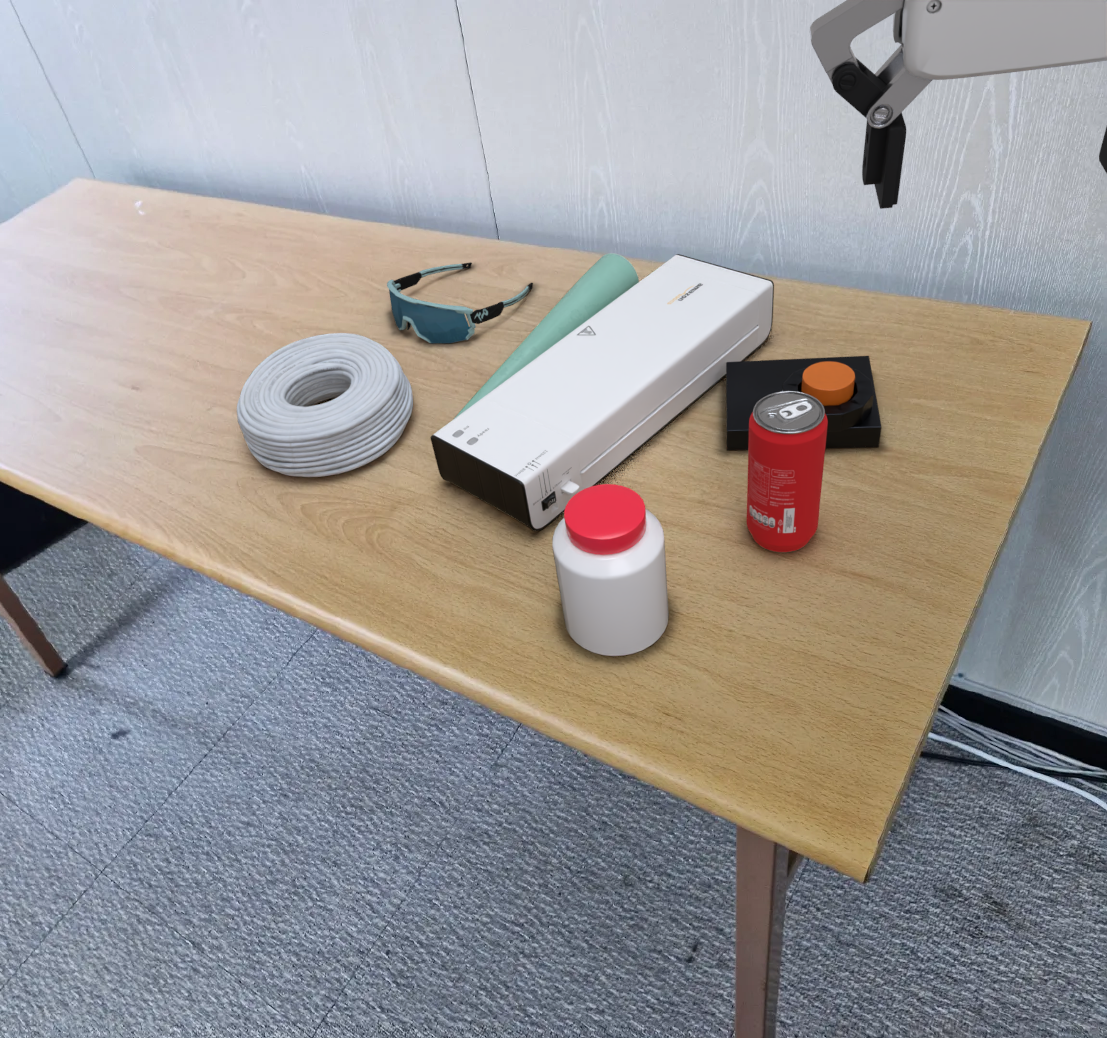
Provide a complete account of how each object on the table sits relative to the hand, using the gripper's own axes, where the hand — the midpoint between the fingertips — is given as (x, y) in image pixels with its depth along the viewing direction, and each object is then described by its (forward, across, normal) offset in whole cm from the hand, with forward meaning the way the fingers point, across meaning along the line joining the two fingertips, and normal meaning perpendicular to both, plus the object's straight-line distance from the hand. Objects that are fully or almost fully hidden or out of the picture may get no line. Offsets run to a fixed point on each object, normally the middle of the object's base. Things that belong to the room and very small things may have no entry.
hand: (996, 185), depth 46 cm
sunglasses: (+32, +41, -45) cm, 69 cm away
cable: (+32, +50, -24) cm, 64 cm away
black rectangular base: (+32, +6, -24) cm, 41 cm away
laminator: (+32, +22, -25) cm, 46 cm away
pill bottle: (+32, +20, 0) cm, 38 cm away
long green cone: (+32, +30, -33) cm, 55 cm away
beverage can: (+32, +8, -9) cm, 35 cm away
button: (+29, +4, -22) cm, 36 cm away
